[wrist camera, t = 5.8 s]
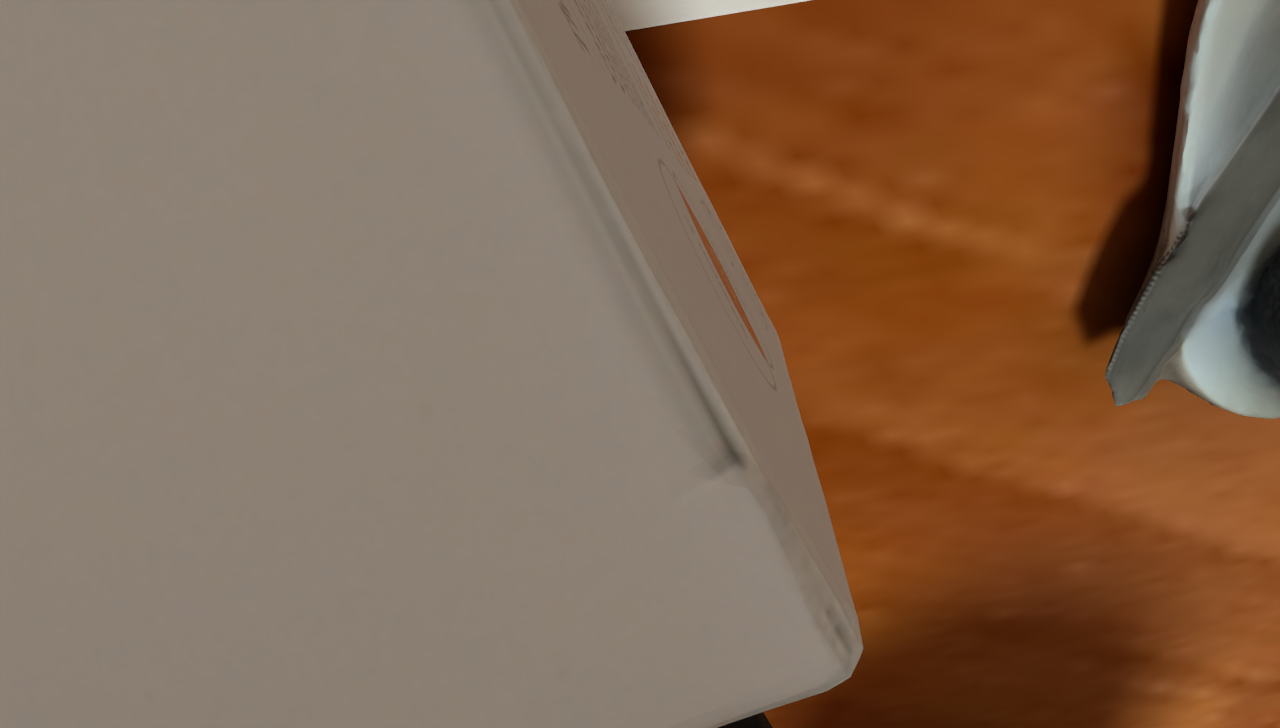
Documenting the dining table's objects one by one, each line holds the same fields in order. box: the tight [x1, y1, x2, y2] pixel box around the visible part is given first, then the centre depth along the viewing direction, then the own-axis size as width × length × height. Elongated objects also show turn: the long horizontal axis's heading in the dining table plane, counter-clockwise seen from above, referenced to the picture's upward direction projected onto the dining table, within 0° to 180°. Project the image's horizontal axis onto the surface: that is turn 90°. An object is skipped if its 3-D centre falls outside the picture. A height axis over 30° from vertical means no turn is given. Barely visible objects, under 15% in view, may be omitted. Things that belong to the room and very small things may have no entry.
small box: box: [0, 0, 863, 728], centre depth 8 cm, size 8×6×10 cm
